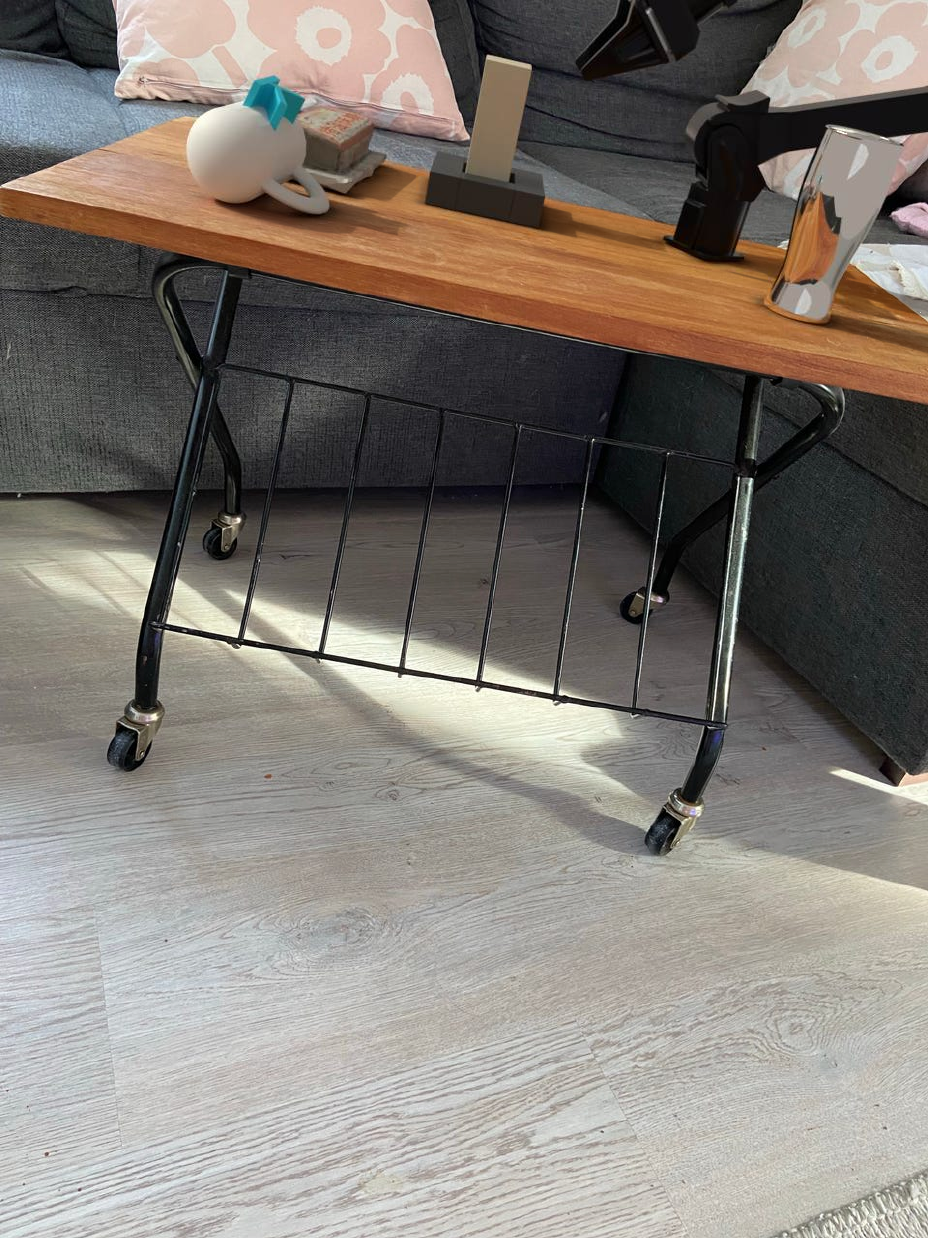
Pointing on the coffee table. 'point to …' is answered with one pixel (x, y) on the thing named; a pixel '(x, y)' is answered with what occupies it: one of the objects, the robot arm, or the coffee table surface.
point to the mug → (254, 149)
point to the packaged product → (338, 147)
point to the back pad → (498, 118)
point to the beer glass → (832, 219)
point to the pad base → (485, 192)
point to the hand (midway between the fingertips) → (579, 70)
